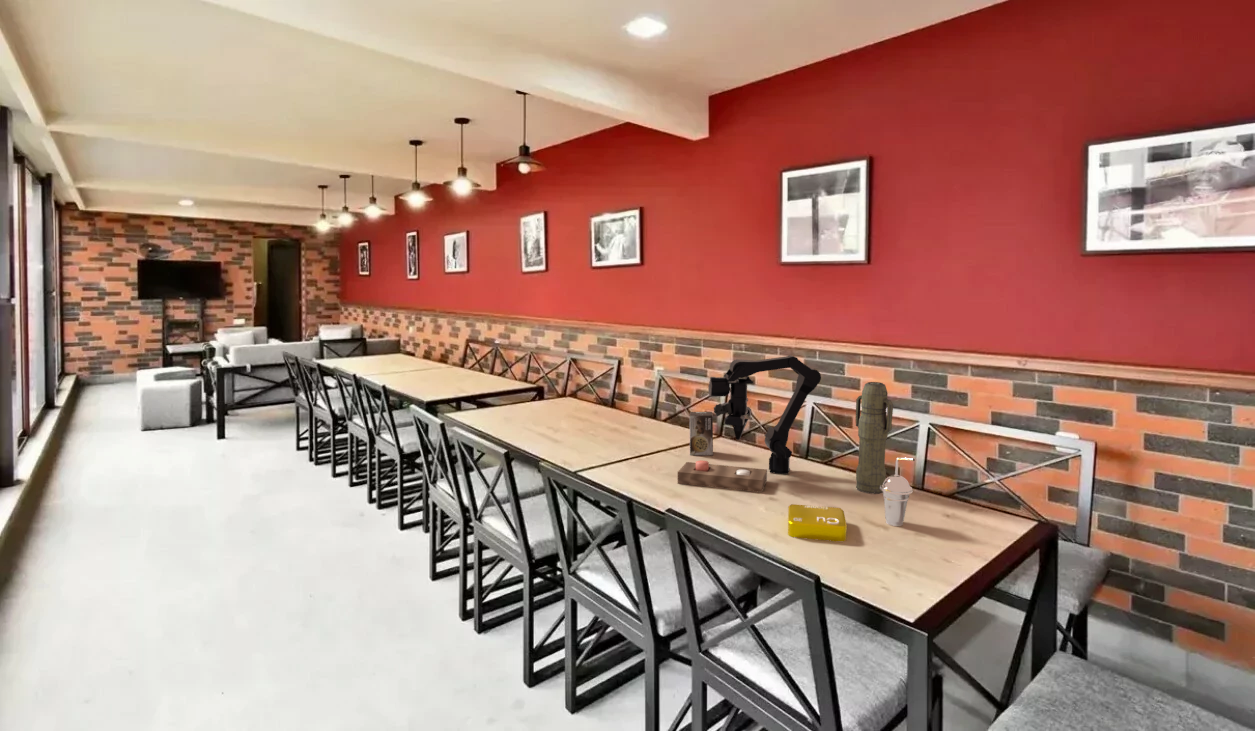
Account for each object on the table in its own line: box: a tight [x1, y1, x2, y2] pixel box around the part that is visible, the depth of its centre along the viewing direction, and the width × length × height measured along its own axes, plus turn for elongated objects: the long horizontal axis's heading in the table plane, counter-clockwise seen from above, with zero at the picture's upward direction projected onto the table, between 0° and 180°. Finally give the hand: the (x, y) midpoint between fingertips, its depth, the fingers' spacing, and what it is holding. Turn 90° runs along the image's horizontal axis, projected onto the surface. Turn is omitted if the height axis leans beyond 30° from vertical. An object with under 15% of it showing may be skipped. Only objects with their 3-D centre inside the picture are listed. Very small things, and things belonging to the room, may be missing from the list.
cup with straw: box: [880, 456, 915, 527], centre depth 176 cm, size 8×9×20 cm
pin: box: [736, 470, 750, 476], centre depth 211 cm, size 4×4×4 cm
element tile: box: [787, 503, 848, 542], centre depth 174 cm, size 15×15×5 cm
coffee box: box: [689, 411, 714, 456], centre depth 248 cm, size 9×6×16 cm
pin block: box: [677, 461, 768, 493], centre depth 214 cm, size 28×12×4 cm, turn 70°
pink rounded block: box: [695, 460, 710, 472], centre depth 216 cm, size 4×4×4 cm
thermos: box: [855, 381, 894, 495], centre depth 203 cm, size 9×12×35 cm
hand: (738, 439), depth 222 cm, fingers closed
